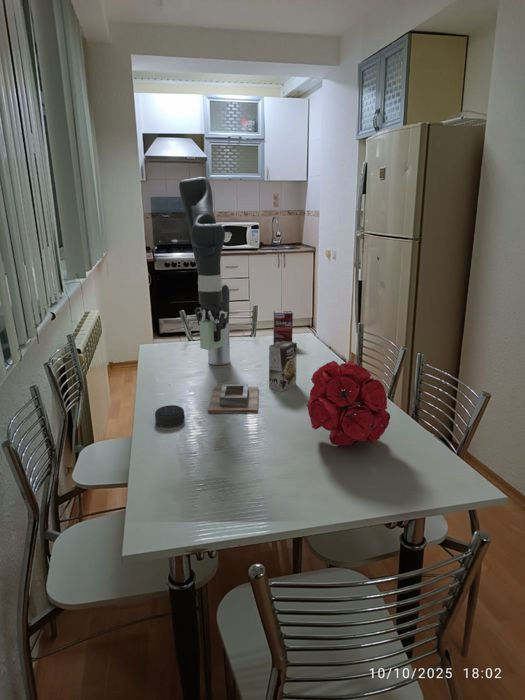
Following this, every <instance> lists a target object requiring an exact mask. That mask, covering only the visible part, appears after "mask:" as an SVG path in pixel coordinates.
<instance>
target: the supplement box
mask: <svg viewBox="0 0 525 700" xmlns="http://www.w3.org/2000/svg"><path fill="white" fill-rule="evenodd" d="M293 314H294V313H293V312H292V311H291V310H286V311H285V310H283V311H282V310H281V311H275V310H274V311H273V337H272V338H273V341H272V342H273V344H276V343H278V342H281V341H288V342H293V326H294V325H293V321H294V319H293V317H294V315H293Z"/></svg>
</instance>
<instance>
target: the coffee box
mask: <svg viewBox="0 0 525 700" xmlns="http://www.w3.org/2000/svg"><path fill="white" fill-rule="evenodd" d="M297 345H298V344H297V342H293V341H292V342H288V341H281V342H278V343H276V344H274V343H273V344H271V345H269V346H268V350H269V353H268V388H269V389H273V390H276V391H280V392H284V391H286V390H287V389H289V388H292V387H294V386H295V385H297V356H298V355H297V354H298V353H297V351H298V349H297V347H298V346H297Z"/></svg>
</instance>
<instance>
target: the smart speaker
mask: <svg viewBox="0 0 525 700" xmlns="http://www.w3.org/2000/svg"><path fill="white" fill-rule="evenodd" d="M154 418H155V419H154V422H155V423H156V424H157V425H158V426H160V427H164V428H172V427H177V426H179V425H181V424H182V423H183V422H184V421H185V418H186V417H185V410H184V408H183V407H182V406H180V405H174V404H173V405H172V404H171V405H164V406H161V407H158V408H157V409H156V410H155V411H154Z"/></svg>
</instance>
